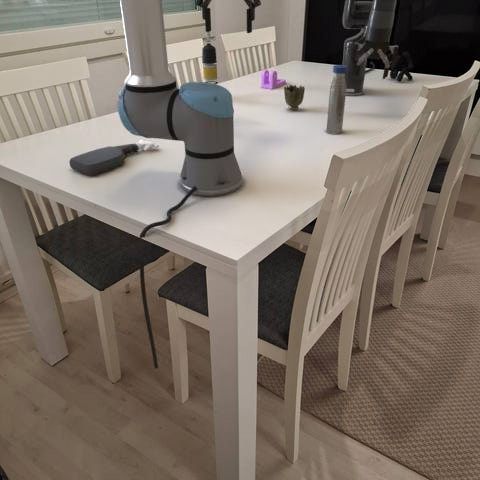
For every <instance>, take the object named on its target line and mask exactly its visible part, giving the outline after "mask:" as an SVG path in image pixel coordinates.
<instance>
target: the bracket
mask: <svg viewBox="0 0 480 480" xmlns="http://www.w3.org/2000/svg"><path fill="white" fill-rule="evenodd" d="M260 76H261V79H260V80H261V83H260V84H261V85H260V87H261V88H264V89H270V90H274V89H276V88H279V87H281V86H284V85H286V84H287V79H284V78H278V72H277V71H276V70H271V71H269V70H268V69H263V70H262V71H261V75H260Z"/></svg>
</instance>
